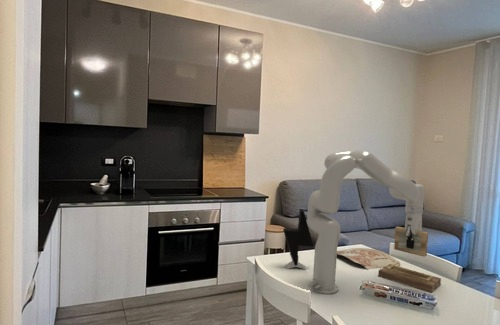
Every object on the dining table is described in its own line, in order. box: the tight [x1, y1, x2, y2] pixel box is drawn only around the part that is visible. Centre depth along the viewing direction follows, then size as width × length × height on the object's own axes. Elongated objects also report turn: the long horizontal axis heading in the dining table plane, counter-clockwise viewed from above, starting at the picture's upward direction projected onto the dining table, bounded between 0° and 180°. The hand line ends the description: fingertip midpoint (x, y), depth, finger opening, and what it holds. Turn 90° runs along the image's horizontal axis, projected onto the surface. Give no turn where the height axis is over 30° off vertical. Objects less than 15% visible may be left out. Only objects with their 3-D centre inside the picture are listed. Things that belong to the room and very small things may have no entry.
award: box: [283, 208, 314, 270], centre depth 170 cm, size 15×5×30 cm, turn 92°
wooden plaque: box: [393, 226, 429, 258], centre depth 161 cm, size 4×14×11 cm, turn 45°
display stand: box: [377, 264, 442, 294], centre depth 161 cm, size 14×24×4 cm, turn 45°
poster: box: [337, 247, 401, 270], centre depth 189 cm, size 28×6×30 cm
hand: (411, 246), depth 160 cm, fingers closed on wooden plaque, 3 cm apart
